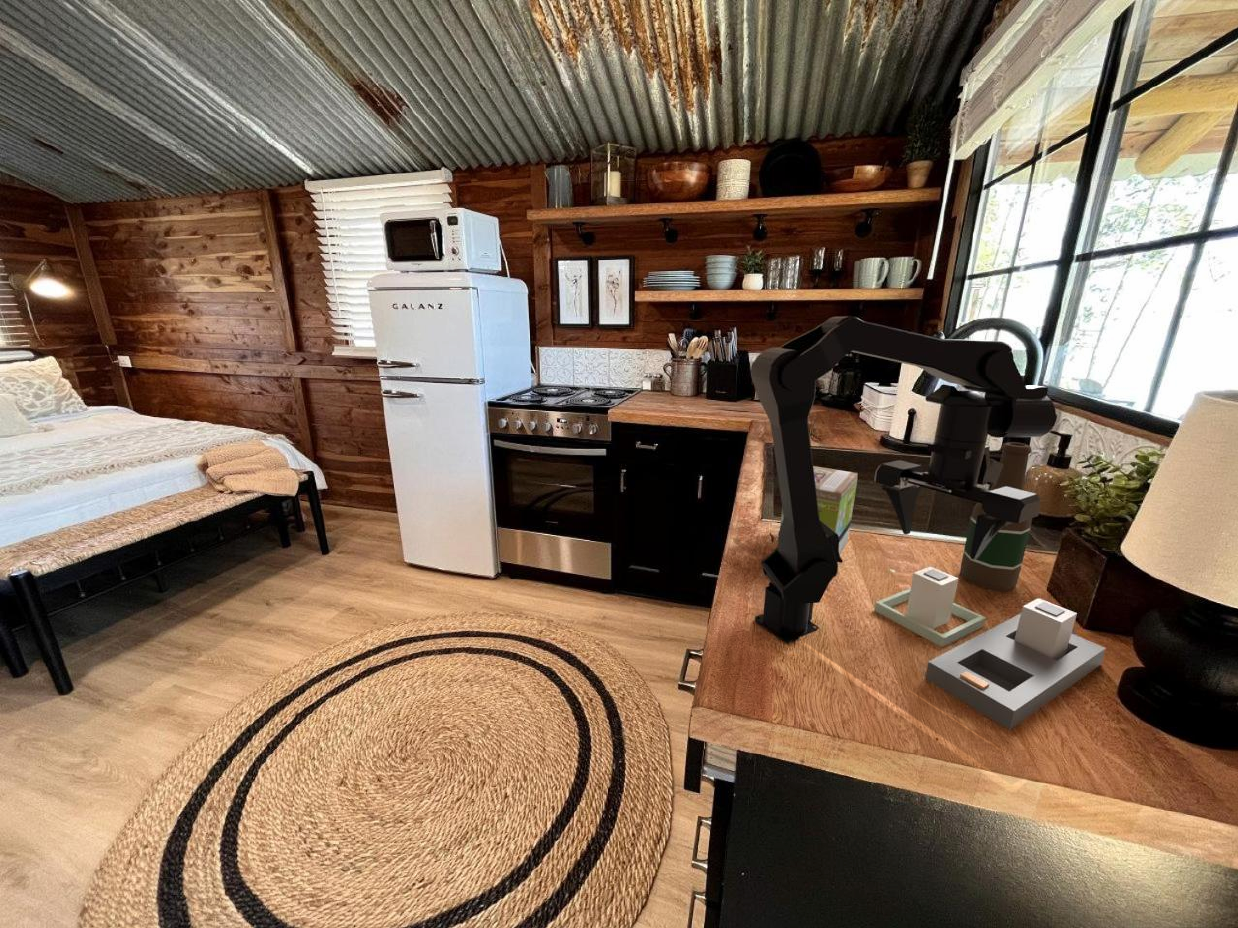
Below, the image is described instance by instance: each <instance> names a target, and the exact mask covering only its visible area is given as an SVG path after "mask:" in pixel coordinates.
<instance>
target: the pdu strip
mask: <svg viewBox="0 0 1238 928" xmlns="http://www.w3.org/2000/svg"><path fill="white" fill-rule="evenodd" d="M1020 616H1021V612H1020V613H1019V614H1017V615H1015V616H1012V617H1011V618H1009V619H1007V620H1005V621H1003V622H1001V623H999V624H998V625H996V626H994V627H992V628H990V629H988V630H986V631H984V632H983V633H979V634H978V635H976V636H975V637H973V638H971V639H969V640H967V641H965V642H963V643H961V644H959V645H957V646H956V647H954V648H951V649H950V650H948V651H946V652H944V653H942V654H940V655H938V656H936V657H934V658H932V659H930V660H929V661H928V662H927V668H926V672H925V678H924V679H925V680H926V681H928V682H930V683H931V684H933V685H934V686H936V687H938V688H940V689H941V690H943V691H944V692H946V693H948V694H949V695H951V696H953V697H955V698H956V699H958V700H959V701H961V702H962V703H964V704H966V706H967V705H968V706H969V707H970V708H972V709H974V710H976V711H977V712H979V713H980V714H982V715H984V716H985V717H987V718H989V719H990V720H992V721H994V722H995V723H997V724H998V725H1000V726H1002V727H1004V728H1005V729H1006V730H1008V731H1011V730H1012V729H1013V728H1014V727H1016V726H1017V725H1018V724H1020V723H1021V722H1023V721H1024V720H1026V719H1027V718H1029V717H1030V716H1031V715H1033V714H1034V713H1035V712H1037V711H1038V710H1039V709H1041V708H1042V707H1044V706H1045V705H1047V704H1048V703H1050V702H1051V701H1052V700H1054V699H1055V698H1057V697H1058V696H1059V695H1061V694H1062V693H1064V692H1065V691H1066V690H1068V688H1070V687H1072V686H1073V685H1074V684H1076V683H1077V682H1079V681H1080V680H1081V679H1083V678H1085V677H1086V676H1087V675H1088V674H1090V673H1091V672H1093V671H1094V670H1096V669H1097V668H1099V667H1100V666H1101V665H1102V663H1103V658H1104V656H1105V653H1106V650H1107V648H1106V647H1104V646H1102V645H1100V644H1097V643H1095V642H1092V641H1090V640H1087V639H1085V638H1083V637H1081V636H1079V635H1077V632H1076V631H1075V629H1072V633H1071V636H1070V640H1069V643H1068V647H1067V650H1066V654H1065V656H1063V657H1062V658H1060V659H1059V660H1055V659H1053V658H1050V657H1048V656H1046V655H1044V654H1042V653H1040V652H1038V651H1036V650H1034V649H1031V648H1029V647H1027V646H1025V645H1023V644H1021V643H1019V642H1017V641H1014V640H1015V636H1016V632H1017V628H1018V624H1019V620H1020Z"/></svg>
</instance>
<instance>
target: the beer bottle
mask: <svg viewBox="0 0 1238 928" xmlns="http://www.w3.org/2000/svg"><path fill="white" fill-rule="evenodd" d="M1000 450H1001V451H1002V453H1001V456H1000V459H999V463H1001V464H1003V467H1002V469H1001V472H1000V474H999V477H998V479H997V482H996V484H995V486H992V485H991V487H990V489H989V490H990V491H992V490H995V489H999V488H1002V487H1006V486H1007V487H1011V488H1015V489H1019V490H1023V491H1025V489H1024V487H1025V482H1026V481H1025V480H1026V473H1027V469H1028V460H1029V455H1030V454H1031V453H1032V451H1033V450H1032V446H1030V445H1028V444H1026V443H1022V442H1015V441H1014V442H1013V441H1009V442H1005V443H1003V444H1002V446H1001V448H1000ZM983 513H985V512H984V510H983V509H982V503H978V502H976V504H975V505H974V506H973V509H972V512H971V516H970V519H969V520H970V521H969V524H968V530H967V535H966V537H965V539H966V540H965V543H964V544H965V545H964V548H963V553H962V559H961V563H960V570H959V574H960V575H961V577H963V579H964V580H965V581H966V582H968V583H969V584H972V585H974V586H977V587H980V588H983V589H985V590H991V591H998V592H1000V591H1001V592H1009V591H1010V590H1012V589H1014V588H1016V587H1017V583H1018V581H1019V578H1020V577H1019V576H1020V572H1021V569H1022V564H1023V561H1024V556H1025V553H1026V549H1027V546H1028V545H1027V543H1028V541H1029V536H1030V532H1031V527H1032V520H1033V518H1031V519H1028V520H1026V521H1023V522H1020V523H1011V524H1009V525H1006V526H1003V527H1002V528H1001V529H1000V530H999V531H998V532H997V533H996V534H995V536H994V537H993V538H992V540H991V541H990V542H989V544H988V545H987V546H986V548H985V549H984V550H983V551H982V553H981V554H980V555H979V557H978V558H977V559H974V560H973V559H971V558H970V557H971V545H972V540H973V535H974V530H975V525H976V520H977V515H980V514H983Z"/></svg>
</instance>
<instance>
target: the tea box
mask: <svg viewBox="0 0 1238 928" xmlns="http://www.w3.org/2000/svg"><path fill="white" fill-rule="evenodd" d="M813 468H814V476H815V484H816V493H817V501H818V509H819V518H820V520H821V521H822V522H823V523H824V524H826V525H827V526H828V527H829V528H831V529H832V530H833V531H834V532H835V533H837V534H838V536H839V555H840V554H841V553H842V551H843V549H844V548H845V547H846V544H847V542H848V541H849V537H850V531H851V524H852V518H853V510H854V504H855V497H856V491H857V485H858V477H859V476H858V472H853V471H846V470H841V469H840V470H839V469H833V468H828V467H821V466H817V465H815V466H814V465H813ZM780 516H781V517H780V524H779V525H780V526H779V528H780V527H781V525H782V522H783V518H784V515H783V508H781V515H780Z"/></svg>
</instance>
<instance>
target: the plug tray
mask: <svg viewBox="0 0 1238 928" xmlns="http://www.w3.org/2000/svg"><path fill="white" fill-rule="evenodd" d="M910 590H911V587H910V588H907V589H906V590H902V591H900V592H897V593H895V594H892V595H890V596H887V597H885V598H883V599H880V600H878V601H875V604H874V609H873V610H874V612H876V613H879V614H880V615H882V616H884V617H885V618H887V619H889V620H890V621H893V622H894V623H896V624H898V625H900V626H902V627H903V628H905V629H908V630H909V631H911V632H913V633H915V634H916V635H918V636H920V637H923V638H924V639H926V640H928V641H930V642H931V643H933V644H935V645H938V646H939V647H941V648H944V647H946V646H948V645H950V644H952V643H954V642H956V641H958V640H960V639H962V638H963V637H966V636H968V635H970V634H971V633H974V632H976V631H977V630H979V629H981V628H984V626H985V623H986V618H987V617H985V616H984V615H981V614H979V613H977V612H975V611H972V610H971V609H969V608H966V607H964V606H962V605H959V604H957V603H953V608H952V613H951V615H954V616H957V617H959V618H961V619H963V620H965V621H967V622H965V623H963V624H961V625H959V626H957V627H955V628H952V629H950V630H949V631H946V632H944V633H941V632H938V631H936V630H935V629H932V628H930V627H928V626H926V625H924V624H922V623H920V622H918V621H916V620H914V619H912V618H910V617H908V616H907V615H906V614H904V613H902V612H901V611H898V610H896V609H894V608H893V607H895V606H898V605H900V604H902V603H904V602H908V601H909V595H910Z"/></svg>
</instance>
